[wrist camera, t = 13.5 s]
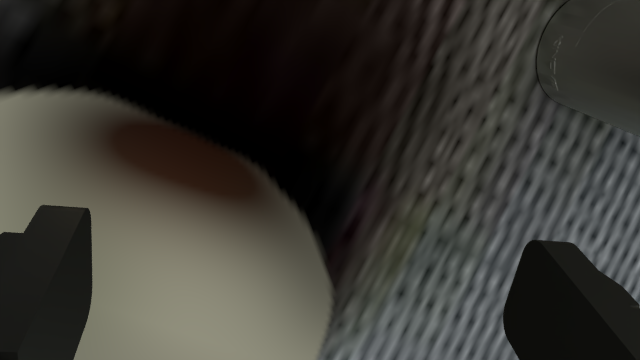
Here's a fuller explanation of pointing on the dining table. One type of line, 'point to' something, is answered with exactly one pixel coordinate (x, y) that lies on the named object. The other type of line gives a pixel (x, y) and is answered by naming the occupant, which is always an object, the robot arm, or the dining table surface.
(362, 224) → the dining table surface
